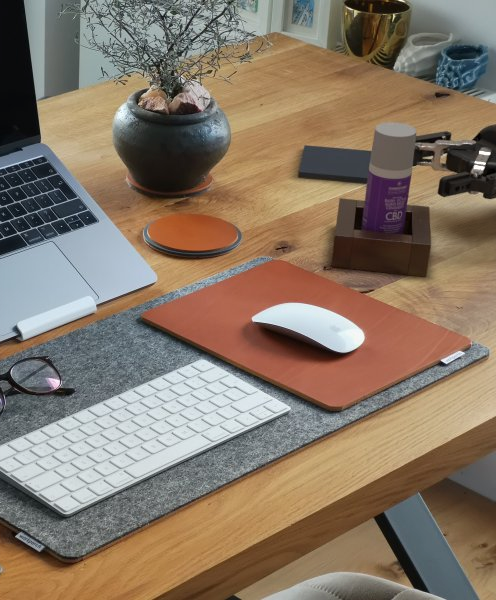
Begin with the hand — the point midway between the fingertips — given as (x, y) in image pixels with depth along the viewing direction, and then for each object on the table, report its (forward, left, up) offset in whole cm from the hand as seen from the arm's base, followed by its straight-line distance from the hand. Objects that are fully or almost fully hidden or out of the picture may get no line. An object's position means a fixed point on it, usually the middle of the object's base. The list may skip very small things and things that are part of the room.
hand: (415, 174), depth 126 cm
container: (+3, +2, -9) cm, 10 cm away
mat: (+9, -23, -9) cm, 26 cm away
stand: (+3, +2, -9) cm, 10 cm away
